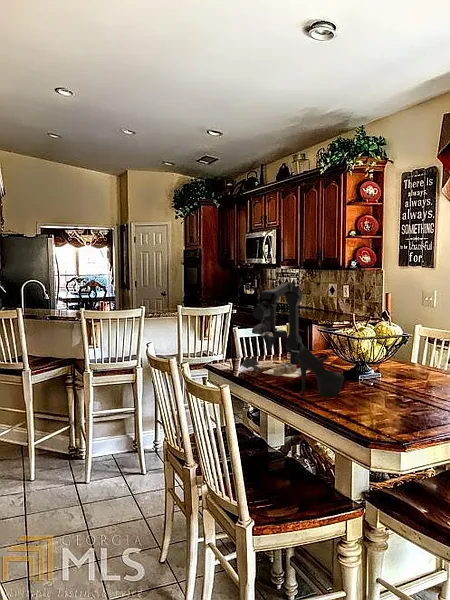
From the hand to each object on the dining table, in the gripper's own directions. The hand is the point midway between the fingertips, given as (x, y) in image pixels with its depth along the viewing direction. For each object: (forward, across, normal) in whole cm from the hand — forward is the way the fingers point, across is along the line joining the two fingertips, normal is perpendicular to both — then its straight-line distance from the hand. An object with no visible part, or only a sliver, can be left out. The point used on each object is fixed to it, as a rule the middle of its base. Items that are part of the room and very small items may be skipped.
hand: (269, 350), depth 238 cm
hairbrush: (+13, -15, +4) cm, 20 cm away
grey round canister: (+12, +4, +7) cm, 15 cm away
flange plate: (+11, +5, +4) cm, 13 cm away
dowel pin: (+11, +13, +7) cm, 18 cm away
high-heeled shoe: (+12, +38, -8) cm, 41 cm away
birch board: (+12, +4, +7) cm, 15 cm away
